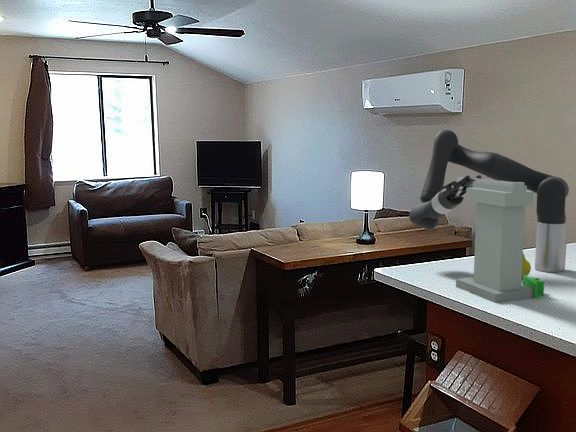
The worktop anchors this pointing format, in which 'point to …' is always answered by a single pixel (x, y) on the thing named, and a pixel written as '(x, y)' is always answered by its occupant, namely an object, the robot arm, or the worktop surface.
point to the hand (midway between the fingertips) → (474, 178)
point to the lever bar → (485, 181)
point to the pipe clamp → (534, 285)
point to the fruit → (525, 266)
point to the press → (498, 241)
